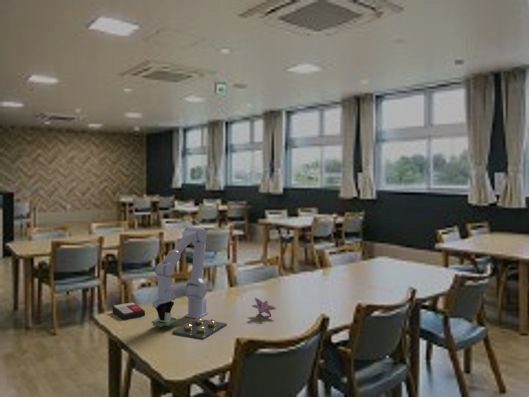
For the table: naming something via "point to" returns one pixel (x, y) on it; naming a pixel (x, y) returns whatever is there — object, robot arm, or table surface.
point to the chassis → (199, 328)
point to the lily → (263, 307)
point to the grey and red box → (128, 311)
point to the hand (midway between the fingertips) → (164, 318)
